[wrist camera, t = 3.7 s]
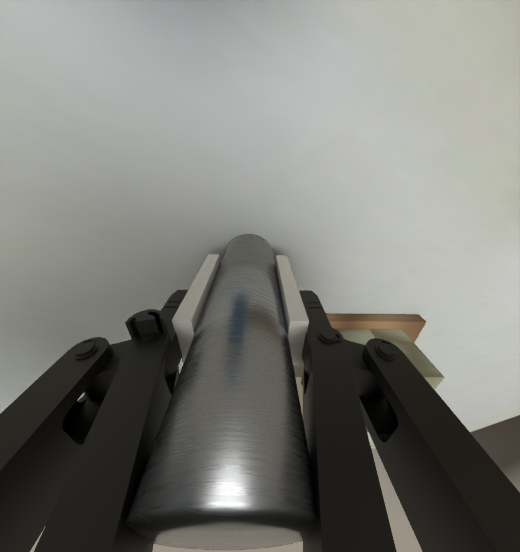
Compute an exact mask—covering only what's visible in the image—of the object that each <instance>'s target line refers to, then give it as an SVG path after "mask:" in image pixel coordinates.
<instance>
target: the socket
mask: <svg viewBox="0 0 520 552" xmlns="http://www.w3.org/2000/svg"><path fill="white" fill-rule="evenodd" d="M326 316H327V318H328V320H329V322H330V324H331V326H332V328H334V329H336V330H338V331H339V332H340V333H341V334H342V336H343V338H344V339H346V340H349V341H352V342H355V343H359V344H363V345H366V343H367V342H368V341H369V340H370V339H373V338H379V339H384V340H387V341H389V342H391V343H393V344H394V345H396V346H397V347H398V348H399V349H400V350H402V352H403V353H404V354H405V355H406V356H407V358H408V359H409V360H410V361H411V362H412V364H413V365H414V366H415V367H416V368H417V370H418V371H419V372H420V373H421V374H422V376H423V377H424V378H425V379H426V380H427V382H428V383H429V384H430V385H431V386H432V388H433V389H434V390H435V389H436V387H437V386H438V385H439V384H440V382H441V381H442V380H443V379H444V376H443V375H442V374H441V373H440V372H439V371H438V370H437V368H436V367H435V366H434V365H433V364H432V363H431V362H430V360H429V359H428V358H427V357H426V356H425V355H424V354H423V353H422V351H421V350H420V349H419V348H418V347H417V346H416V345H415V344H414V342H415V340H416V339H417V337H418V335H419V333H420V332H421V330H422V328H423V327H424V325H425V323H426V321H425V320H424V319H423V318H422V317H421V316H420V315H380V314H326ZM293 367H294V373H295V378H296V384H297V389H298V395H299V400H300V406H301V412H302V417H303V385H301V380H302V375H303V370H304V364H303V360H301V365H293ZM365 426H366V425H365ZM366 430H367V434H368V438H369V442H370V446H371V447H375V445H374V443H373V441H372V438H371V436H370V434H369V432H368V429H367V427H366Z"/></svg>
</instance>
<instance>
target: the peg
mask: <svg viewBox="0 0 520 552" xmlns="http://www.w3.org/2000/svg"><path fill="white" fill-rule="evenodd" d="M317 521H318V518H317V508H316V497H315V489H314V480H313V473H312V467H311V462H310V456H309V450H308V445H307V439H306V434H305V428H304V423H303V417H302V412H301V406H300V400H299V395H298V389H297V384H296V378H295V373H294V367H293V362H292V356H291V350H290V345H289V339H288V334H287V328H286V323H285V317H284V312H283V306H282V301H281V295H280V289H279V284H278V278H277V273H276V267H275V262H274V256H273V251H272V248H271V246H270V245H269V243H268V242H267V241H266V240H265V239H263V238H262V237H260V236H257V235H253V234H244V235H240V236H238V237H236V238H234V239H233V240H232V241H231V242H230V243H229V245H228V246H227V248H226V251H225V254H224V257H223V259H222V262H221V265H220V267H219V270H218V273H217V275H216V278H215V281H214V283H213V286H212V289H211V291H210V294H209V297H208V300H207V302H206V305H205V308H204V310H203V313H202V316H201V318H200V321H199V324H198V326H197V329H196V332H195V334H194V337H193V340H192V343H191V345H190V348H189V351H188V353H187V356H186V359H185V361H184V364H183V367H182V369H181V372H180V375H179V377H178V380H177V383H176V386H175V388H174V391H173V394H172V396H171V399H170V402H169V404H168V407H167V410H166V412H165V415H164V418H163V420H162V423H161V426H160V429H159V431H158V434H157V437H156V439H155V442H154V445H153V447H152V450H151V453H150V455H149V458H148V461H147V463H146V466H145V469H144V472H143V474H142V477H141V480H140V482H139V485H138V488H137V490H136V493H135V496H134V498H133V501H132V504H131V507H130V510H129V513H128V516H127V518H126V521H125V524H126V525H127V526H128V527H130V528H131V529H132V530H134V531H135V532H136V533H138V534H139V535H140V536H142V537H143V538H144V539H145V540H147V541H148V542H149V543H153V544H158V545H163V546H169V547H177V548H187V549H203V550H244V549H259V548H269V547H276V546H282V545H288V544H293V543H297V542H301V541H304V540H305V539H306V538H307V536H308V535H309V533H310V532H311V530H312V529H313V527H314V526H315V524H316V523H317Z"/></svg>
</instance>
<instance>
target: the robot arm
mask: <svg viewBox="0 0 520 552" xmlns="http://www.w3.org/2000/svg"><path fill="white" fill-rule="evenodd" d="M219 267H220V257H219V254H208V256H207V257H206V259H205V261H204V263H203V265H202V266H201V268H200V270H199V272H198V274H197V275H196V277H195V279H194V281H193V283H192V285H191V286H190V288H189V290H177V291H176V292H175V293H173V294H172V295H171V296H170V298H169V299H168V301H167V302H166V304H165V305H164V308H162V310H161V311H159V310H154V309H149V310H144V311H141V312H139V313H136V314H134V315H133V316H131V317H130V318H129V319H128V320H127V321H126V322H125V323H126V326H127V328H128V331H129V333H130V335H131V338H132V339H131V340H128V341H124V342H120V343H116V344H111V345H110V344H109V342H108V341H107V340H106V339H105V338H101V337H97V338H91V339H88V340H84V341H82V342H80V343H78V344H76V345H75V346H74V347H72V348H71V349H70V350H68V351H67V352H66V353H65V354H64V355H63V356H62V357H61V358H60V359H59V360H58V361H57V362H56V363H54V364H53V365H52V366H51V367H50V368H49V369H48V370H47V371H46V372H45V373H44V374H43V375H42V376H41V377H39V378H38V379H37V380H36V381H35V382H34V383H33V384H32V385H31V386H30V387H29V388H28V389H27V390H26V391H24V392H23V393H22V394H21V395H20V396H19V397H18V398H17V399H16V400H15V401H14V402H13V403H12V404H10V405H9V406H8V407H7V408H6V409H5V410H4V411H3V412H2V413H1V414H0V552H30V550H31V549H32V547H33V545H34V544H35V542H36V540H37V539H38V537H39V536H40V534H41V532H42V531H43V529H44V527H45V526H46V527H45V529H44V531H43V533H42V535H41V537H40V540H39V542H38V544H37V546H36V548H35V551H34V552H152V550H153V543H149V542H148V541H147V540H145V539H144V538H143V537H142V536H140V535H139V534H138V533H136V532H135V531H134V530H132V529H131V528H130V527H128V526H127V525H126V524H125V521H126V518H127V516H128V513H129V510H130V507H131V504H132V501H133V498H134V496H135V493H136V490H137V488H138V485H139V482H140V480H141V477H142V474H143V472H144V469H145V466H146V463H147V461H148V458H149V455H150V453H151V450H152V447H153V445H154V442H155V439H156V437H157V434H158V431H159V429H160V426H161V423H162V420H163V418H164V415H165V412H166V410H167V407H168V404H169V402H170V399H171V396H172V394H173V391H174V388H175V386H176V383H177V380H178V377H179V367H178V365H179V362H180V360H181V357H182V361H183V364H184V361H185V359H186V356H187V353H188V351H189V348H190V345H191V343H192V340H193V337H194V334H195V332H196V329H197V326H198V324H199V321H200V318H201V316H202V313H203V310H204V308H205V305H206V302H207V300H208V297H209V294H210V291H211V289H212V286H213V283H214V281H215V278H216V275H217V273H218V270H219ZM275 267H276V273H277V278H278V284H279V289H280V295H281V301H282V306H283V312H284V317H285V323H286V328H287V334H288V339H289V345H290V350H291V356H292V362H293V365H301V360H303V364H304V370H303V375H302V380H301V385H303V423H304V428H305V434H306V439H307V445H308V450H309V456H310V462H311V467H312V473H313V480H314V489H315V497H316V508H317V518H318V521H317V523H316V524H315V526H314V527H313V529H312V530H311V532H310V533H309V535H308V536H307V538H306V539H305V540H304V541H303V552H396V548H395V544H394V540H393V536H392V532H391V528H390V523H389V519H388V516H387V511H386V507H385V503H384V499H383V495H382V491H381V487H380V483H379V479H378V475H377V471H376V466H375V462H374V458H373V454H372V450H371V446H370V442H369V438H368V434H367V430H366V427H367V429H368V432H369V434H370V436H371V438H372V441H373V443H374V445H375V447H376V449H377V452H378V454H379V456H380V458H381V460H382V462H383V465H384V467H385V469H386V471H387V473H388V476H389V478H390V480H391V482H392V485H393V487H394V489H395V491H396V494H397V496H398V498H399V500H400V502H401V505H402V507H403V509H404V511H405V513H406V516H407V518H408V520H409V522H410V525H411V527H412V529H413V531H414V533H415V536H416V538H417V540H418V542H419V544H420V546H421V549H422V551H423V552H520V492H518V490H517V489H516V488H515V486H514V485H513V484H512V483H511V482H510V481H509V479H508V478H507V477H506V476H505V474H503V472H502V471H501V470H500V468H499V467H498V466H497V465H496V464H495V462H494V461H493V460H492V459H491V458H490V456H489V455H488V454H487V453H486V452H485V450H484V449H483V448H482V447H481V446H480V444H479V443H478V442H477V441H476V440H475V438H474V437H473V436H472V435H471V433H470V432H469V431H468V430H467V429H466V427H465V426H464V425H463V424H462V423H461V421H460V420H459V419H458V418H457V417H456V415H455V414H454V413H453V412H452V411H451V409H450V408H449V407H448V406H447V405H446V403H445V402H444V401H443V400H442V399H441V397H440V396H439V395H438V394H437V392H436V391H435V390H434V389H433V388H432V386H431V385H430V384H429V383H428V382H427V380H426V379H425V378H424V377H423V376H422V374H421V373H420V372H419V371H418V370H417V368H416V367H415V366H414V365H413V364H412V362H411V361H410V360H409V359H408V358H407V356H406V355H405V354H404V353H403V352H402V350H400V349H399V348H398V347H397V346H396V345H394V344H393V343H391V342H389V341H387V340H384V339H379V338H373V339H370V340H369V341H368V342H367V343H366V345H363V344H359V343H355V342H352V341H349V340H346V339H344V338H343V336H342V334H341V333H340V332H339V331H338V330H336V329H334V328H332V326H331V324H330V322H329V320H328V318H327V316H326V313H325V311H324V309H323V307H322V305H321V303H320V300H319V298H318V296H317V295H316V294H315V293H313V292H312V291H299V290H298V287H297V284H296V281H295V278H294V275H293V272H292V269H291V266H290V263H289V260H288V257H287V256H284V255H276V266H275ZM83 392H84V393H85V395H84V396H83V397H82V398H81V399H80V400H79V401H77V400H78V398H79V397H80V396H81V395H82V393H83ZM365 425H366V426H365Z"/></svg>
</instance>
